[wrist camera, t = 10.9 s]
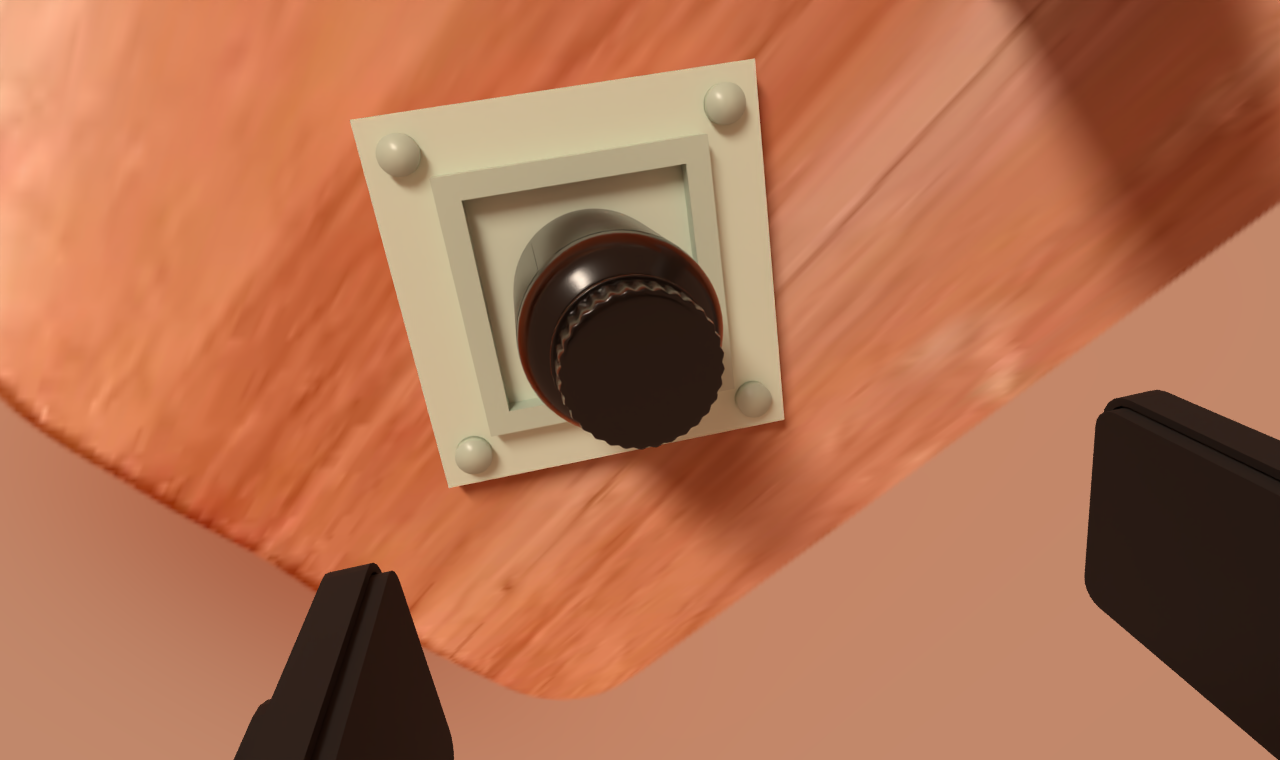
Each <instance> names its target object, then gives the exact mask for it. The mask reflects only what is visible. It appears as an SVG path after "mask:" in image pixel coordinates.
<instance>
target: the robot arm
mask: <svg viewBox="0 0 1280 760" xmlns="http://www.w3.org/2000/svg"><path fill="white" fill-rule="evenodd" d="M1085 564H1086V565H1085V585H1086V588H1087V591H1088V593H1089V595H1090V597H1091V598H1092V600H1093V601H1094V603H1095V604H1096V605H1097V606H1098V607H1099V608H1100V609H1102V610H1103V611H1104V612H1105V613H1106V614H1107V615H1109V616H1110V617H1111V618H1112V619H1113V620H1115V621H1116V622H1117V623H1118V624H1119V625H1120V626H1121V627H1123V628H1124V629H1125V630H1126V631H1128V632H1129V633H1130V634H1131V635H1132V636H1133V637H1135V638H1136V639H1137V640H1138V641H1139V642H1140V643H1142V644H1143V645H1144V646H1145V647H1146V648H1147V649H1149V650H1150V651H1151V652H1152V653H1153V654H1154V655H1156V656H1157V657H1158V658H1159V659H1160V660H1161V661H1163V662H1164V663H1165V664H1166V665H1167V666H1169V667H1170V668H1171V669H1172V670H1173V671H1174V672H1176V673H1177V674H1178V675H1179V676H1180V677H1182V678H1183V679H1184V680H1185V681H1186V682H1187V683H1189V684H1190V685H1191V686H1192V687H1193V688H1195V689H1196V690H1197V691H1198V692H1199V693H1200V694H1201V695H1203V696H1204V697H1205V698H1206V699H1207V700H1209V701H1210V702H1211V703H1212V704H1213V705H1214V706H1216V707H1217V708H1218V709H1219V710H1220V711H1221V712H1223V713H1224V714H1225V715H1226V716H1227V717H1229V718H1230V719H1231V720H1232V721H1233V722H1234V723H1236V724H1237V725H1238V726H1239V727H1240V728H1241V729H1243V730H1244V731H1245V732H1246V733H1247V734H1248V735H1250V736H1251V737H1252V738H1253V739H1254V740H1256V741H1257V742H1258V743H1259V744H1260V745H1262V746H1263V747H1264V748H1265V749H1266V750H1267V751H1268V752H1270V753H1271V754H1272V755H1273V756H1274V757H1276V758H1277V759H1278V760H1280V440H1277V439H1275V438H1273V437H1270V436H1268V435H1266V434H1263V433H1261V432H1258V431H1256V430H1254V429H1251V428H1249V427H1247V426H1245V425H1242V424H1240V423H1237V422H1235V421H1233V420H1231V419H1228V418H1226V417H1223V416H1221V415H1219V414H1217V413H1214V412H1212V411H1209V410H1207V409H1205V408H1202V407H1200V406H1198V405H1195V404H1193V403H1191V402H1189V401H1186V400H1184V399H1182V398H1179V397H1177V396H1175V395H1172V394H1170V393H1168V392H1165V391H1160V390H1154V391H1148V392H1143V393H1138V394H1134V395H1130V396H1125V397H1121V398H1116V399H1113V400H1112V401H1110V402H1109V403H1108V404H1107V406H1106V408H1105V409H1104V413H1102V414H1100V415H1099V417H1098V419H1097V421H1096V427H1095V440H1094V454H1093V467H1092V481H1091V496H1090V509H1089V522H1088V537H1087V549H1086V563H1085ZM234 760H454V751H453V743H452V737H451V734H450V730H449V727H448V724H447V722H446V718H445V715H444V712H443V709H442V707H441V703H440V700H439V697H438V695H437V691H436V688H435V685H434V683H433V679H432V676H431V674H430V671H429V668H428V665H427V662H426V659H425V656H424V653H423V650H422V647H421V644H420V641H419V638H418V635H417V632H416V629H415V626H414V623H413V620H412V617H411V614H410V611H409V608H408V605H407V602H406V599H405V596H404V593H403V590H402V587H401V584H400V581H399V579H398V576H397V575H396V573H395V572H394V571H389V572H384V573H382V572H381V570H380V568H379V567H378V565H377V564H375V563H370V564H366V565H361V566H357V567H352V568H348V569H343V570H339V571H334V572H330V573H327V574H325V576H324V577H323V579H322V581H321V583H320V586H319V588H318V590H317V593H316V595H315V597H314V600H313V602H312V604H311V607H310V609H309V612H308V614H307V616H306V619H305V621H304V623H303V626H302V628H301V630H300V633H299V635H298V637H297V640H296V642H295V645H294V647H293V649H292V651H291V654H290V656H289V659H288V661H287V664H286V666H285V668H284V670H283V673H282V675H281V677H280V680H279V682H278V684H277V687H276V689H275V691H274V694H273V696H272V698H271V699H270V700H267V701H265V702H264V703H263V704H261V705H260V706H259V707H258V709H257V711H256V712H255V714H254V716H253V717H252V720H251V722H250V724H249V726H248V729H247V731H246V733H245V735H244V738H243V740H242V742H241V744H240V747H239V749H238V751H237V754H236V756H235V758H234Z"/></svg>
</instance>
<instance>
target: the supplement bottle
mask: <svg viewBox="0 0 1280 760" xmlns="http://www.w3.org/2000/svg"><path fill="white" fill-rule="evenodd" d="M513 300H514V314H515V327H516V340H517V349H518V354H519V358H520V362H521V365H522V368H523V371H524V373H525V376H526V378H527V380H528V382H529V384H530V386H531V387H532V389H533V390H534V392H535V393H536V395H537V396H538V397H539V398H540V400H541V401H542V402H543V403H544V404H545V405H546V406H547V407H548V408H549V409H550V410H551V411H553V412H554V413H555V414H556V415H558V416H559V417H561V418H562V419H564V420H565V421H567V422H569V423H571V424H573V425H575V426H577V427H580V428H582V429H583V430H584V431H586V432H589V433H592V435H593V436H594V438H595V439H598V440H604V441H605V442H606V443H607V444H609V445H610V446H617V445H619V446H621V447H622V448H624V449H629V448H633V447H634V448H637V449H641V450H642V449H645V448H647V447H658V446H660V445H662V444H663V443H670V442H673V441H674V440H675V439H676V438H677V437H679V436H683V435H686V434H687V433H688V432H689V430H690V429H691V428H692V427H695V426H697V425H699V423H700V421H701V419H702V417H704V416H705V415H707V414H708V413H709V412H710V409H711V405H712V404H713V403H714V402H715V401H716V400H717V397H718V390H719V389H720V387H721V386H722V378H721V376H722V374H723V372H724V369H725V368H724V364H723V362H722V361H723V357H724V351H723V349H722V343H723V316H722V311H721V306H720V303H719V299H718V296H717V294H716V291H715V289H714V287H713V285H712V283H711V281H710V279H709V278H708V276H707V275H706V273H705V272H704V271H703V269H702V268H701V267H700V266H699V265H698V263H697V262H696V261H695V260H694V259H693V258H692V257H691V256H689V255H688V254H687V253H686V252H685V251H684V250H682V249H681V248H680V247H678V246H677V245H675V244H674V243H672V242H670V241H669V240H667V239H666V238H664V237H663V236H661V235H660V234H658V233H656V232H655V231H653V230H652V229H650V228H649V227H647V226H645V225H644V224H642V223H641V222H639V221H638V220H636V219H634V218H632V217H630V216H627V215H625V214H622V213H620V212H616V211H612V210H607V209H595V208H594V209H582V210H577V211H573V212H569V213H567V214H564V215H562V216H559V217H557V218H555V219H554V220H552V221H550V222H549V223H548V224H546V225H545V226H544V227H542V228H541V229H540V230H539V231H538V232H537V233H536V234H535V235H534V236H533V237H532V239H531V240H530V241H529V243H528V244H527V245H526V247H525V249H524V251H523V252H522V254H521V257H520V259H519V261H518V264H517V267H516V272H515V276H514V286H513Z"/></svg>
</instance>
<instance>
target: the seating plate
mask: <svg viewBox="0 0 1280 760" xmlns="http://www.w3.org/2000/svg"><path fill="white" fill-rule="evenodd" d="M350 123H351V127H352V130H353V134H354V138H355V141H356V145H357V149H358V153H359V156H360V160H361V164H362V167H363V171H364V175H365V179H366V182H367V186H368V190H369V193H370V197H371V201H372V205H373V208H374V212H375V216H376V219H377V223H378V227H379V231H380V234H381V238H382V242H383V245H384V249H385V253H386V256H387V260H388V264H389V268H390V271H391V275H392V279H393V282H394V286H395V290H396V294H397V297H398V301H399V305H400V308H401V312H402V316H403V320H404V323H405V327H406V331H407V334H408V338H409V342H410V346H411V349H412V353H413V357H414V360H415V364H416V368H417V372H418V375H419V379H420V383H421V386H422V390H423V394H424V398H425V401H426V405H427V409H428V412H429V416H430V420H431V424H432V427H433V431H434V435H435V438H436V442H437V446H438V450H439V453H440V457H441V461H442V464H443V468H444V472H445V476H446V479H447V483H448V487H449V488H452V487H456V486H461V485H466V484H471V483H476V482H481V481H486V480H491V479H496V478H501V477H506V476H510V475H515V474H520V473H525V472H530V471H535V470H540V469H545V468H550V467H555V466H560V465H564V464H569V463H574V462H579V461H584V460H589V459H594V458H599V457H604V456H609V455H613V454H618V453H623V452H628V451H633V450H638V449H637V448H634V447H633V448H629V449H624V448H622V447H621V446H619V445H617V446H610V445H609V444H607V443H606V442H605V441H604V440H598V439H595V438H594V436H593V435H592V433H589V432H586V431H584V430H583V429H582V428H580V427H577V426H575V425H573V424H571V423H569V422H567V421H565V420H564V419H562V418H561V417H559V416H558V415H556V414H555V413H554V412H553V411H551V410H550V409H549V408H548V407H547V406H546V405H545V404H544V403H543V402H542V401H541V400H540V398H539V397H538V396H537V395H536V393H535V392H534V390H533V389H532V387H531V386H530V384H529V382H528V380H527V378H526V376H525V373H524V371H523V368H522V365H521V362H520V358H519V354H518V349H517V340H516V327H515V314H514V300H513V286H514V276H515V272H516V267H517V264H518V261H519V259H520V257H521V254H522V252H523V251H524V249H525V247H526V245H527V244H528V243H529V241H530V240H531V239H532V237H533V236H534V235H535V234H536V233H537V232H538V231H539V230H540V229H541V228H542V227H544V226H545V225H546V224H548V223H549V222H550V221H552V220H554V219H555V218H557V217H559V216H562V215H564V214H567V213H569V212H573V211H577V210H582V209H594V208H595V209H607V210H612V211H616V212H620V213H622V214H625V215H627V216H630V217H632V218H634V219H636V220H638V221H639V222H641V223H642V224H644V225H645V226H647V227H649V228H650V229H652V230H653V231H655V232H656V233H658V234H660V235H661V236H663V237H664V238H666V239H667V240H669V241H670V242H672V243H674V244H675V245H677V246H678V247H680V248H681V249H682V250H684V251H685V252H686V253H687V254H688V255H689V256H691V257H692V258H693V259H694V260H695V261H696V262H697V263H698V265H699V266H700V267H701V268H702V269H703V271H704V272H705V273H706V275H707V276H708V278H709V279H710V281H711V283H712V285H713V287H714V289H715V291H716V294H717V296H718V299H719V303H720V306H721V311H722V316H723V343H722V349H723V351H724V357H723V361H722V362H723V364H724V368H725V369H724V372H723V374H722V376H721V378H722V386H721V387H720V389H719V390H718V397H717V400H716V401H715V402H714V403H713V404H712V405H711V409H710V412H709V413H708V414H707V415H705V416H704V417H702V419H701V421H700V423H699V425H697V426H695V427H692V428H691V429H690V430H689V432H688V433H687V434H686V435H683V436H679V437H677V438H676V439H675V440H674V441H673V442H677V441H682V440H687V439H692V438H697V437H702V436H707V435H712V434H716V433H721V432H726V431H731V430H736V429H741V428H746V427H751V426H756V425H761V424H766V423H770V422H775V421H780V420H784V409H783V397H782V385H781V373H780V360H779V348H778V336H777V324H776V311H775V299H774V287H773V275H772V262H771V250H770V238H769V226H768V213H767V201H766V189H765V177H764V164H763V152H762V140H761V128H760V115H759V103H758V91H757V79H756V66H755V59H749V60H742V61H736V62H729V63H723V64H716V65H709V66H703V67H696V68H690V69H683V70H676V71H670V72H663V73H657V74H650V75H643V76H637V77H630V78H623V79H617V80H610V81H604V82H597V83H590V84H584V85H577V86H571V87H564V88H557V89H551V90H544V91H538V92H531V93H524V94H518V95H511V96H505V97H498V98H491V99H485V100H478V101H472V102H465V103H458V104H452V105H445V106H438V107H432V108H425V109H419V110H412V111H405V112H399V113H392V114H386V115H379V116H372V117H366V118H359V119H353V120H350ZM670 443H672V442H670ZM663 444H667V443H663ZM663 444H662V445H663ZM647 448H648V447H647Z"/></svg>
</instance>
